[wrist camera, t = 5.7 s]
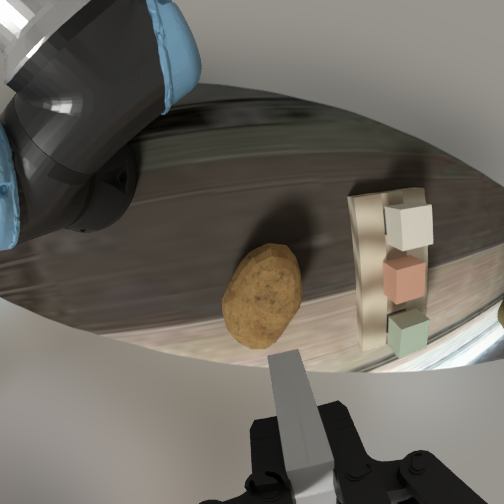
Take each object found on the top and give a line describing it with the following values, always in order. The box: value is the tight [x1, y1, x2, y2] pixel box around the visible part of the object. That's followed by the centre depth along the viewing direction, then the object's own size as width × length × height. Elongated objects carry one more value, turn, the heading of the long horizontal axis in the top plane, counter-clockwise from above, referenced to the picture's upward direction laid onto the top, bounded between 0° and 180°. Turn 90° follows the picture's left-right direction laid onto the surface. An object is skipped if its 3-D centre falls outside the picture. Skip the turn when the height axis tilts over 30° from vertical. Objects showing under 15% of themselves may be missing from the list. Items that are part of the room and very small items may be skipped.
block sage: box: [388, 309, 430, 358], centre depth 36 cm, size 5×5×6 cm
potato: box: [222, 243, 302, 349], centre depth 35 cm, size 10×14×8 cm
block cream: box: [384, 202, 433, 251], centre depth 32 cm, size 5×5×6 cm
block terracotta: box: [383, 255, 426, 305], centre depth 36 cm, size 5×5×6 cm
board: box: [347, 187, 428, 351], centre depth 38 cm, size 24×12×2 cm, turn 11°
